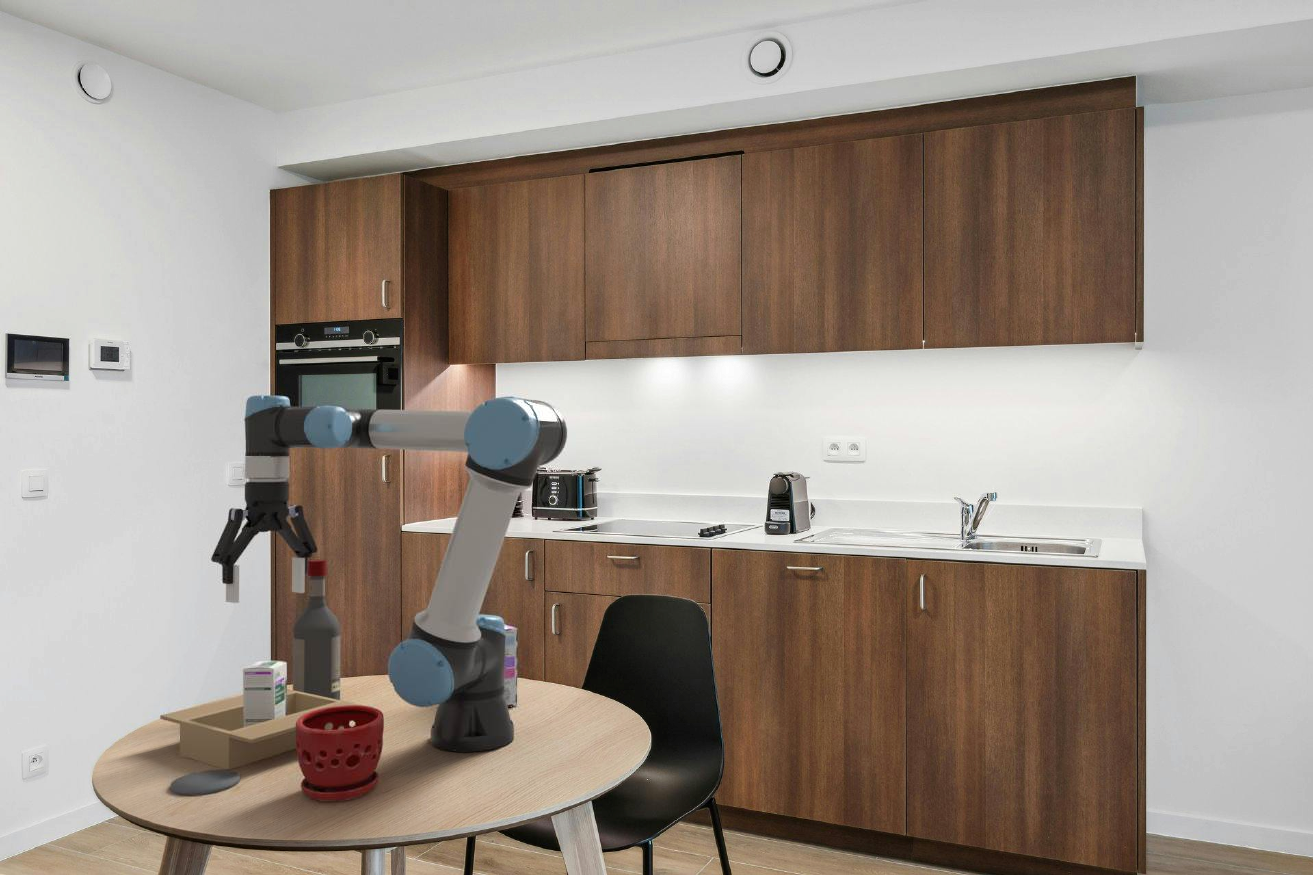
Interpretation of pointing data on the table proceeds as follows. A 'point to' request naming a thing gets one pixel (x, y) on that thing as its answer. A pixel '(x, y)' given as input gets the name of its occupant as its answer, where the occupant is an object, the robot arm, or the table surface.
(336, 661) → the liquor
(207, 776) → the coaster
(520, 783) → the table surface
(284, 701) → the syrup box
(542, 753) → the table surface
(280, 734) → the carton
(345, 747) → the plant pot
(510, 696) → the candy box
